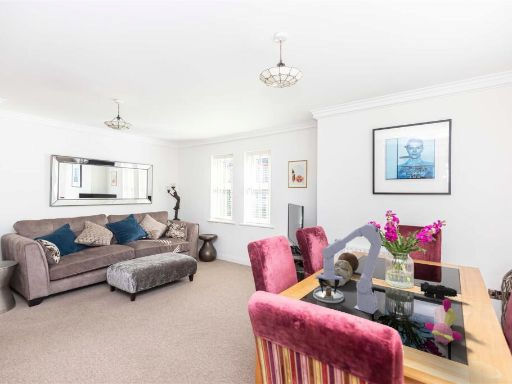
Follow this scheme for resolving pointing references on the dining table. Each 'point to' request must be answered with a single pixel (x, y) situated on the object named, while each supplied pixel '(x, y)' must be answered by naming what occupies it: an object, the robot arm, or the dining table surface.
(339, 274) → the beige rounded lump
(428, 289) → the night vision scope
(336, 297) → the carrier plate
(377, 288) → the dining table surface
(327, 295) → the gear
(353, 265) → the wooden sphere
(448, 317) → the toy
